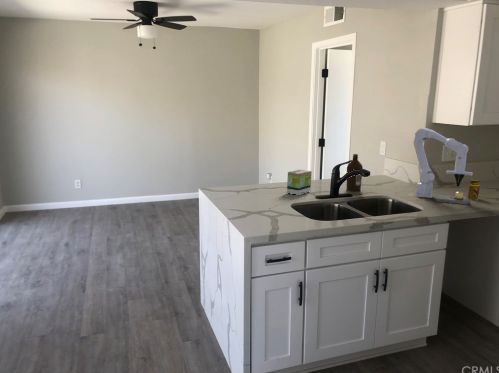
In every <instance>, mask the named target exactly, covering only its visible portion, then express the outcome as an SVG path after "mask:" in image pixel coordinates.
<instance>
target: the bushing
mask: <svg viewBox="0 0 499 373" xmlns="http://www.w3.org/2000/svg"><path fill="white" fill-rule="evenodd" d="M463 197H464V192H462V191H455V199H458V200H463Z"/></svg>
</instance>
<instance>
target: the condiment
mask: <svg viewBox="0 0 499 373" xmlns="http://www.w3.org/2000/svg"><path fill="white" fill-rule="evenodd" d="M469 181H470V182H469V184H468V192H467V196H465V195H463V197H468V200H470V199H472V200H473V201H478V200H477V199H478V198H479V193H480V180H479V179H470V180H469ZM472 200H471V201H472Z"/></svg>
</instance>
